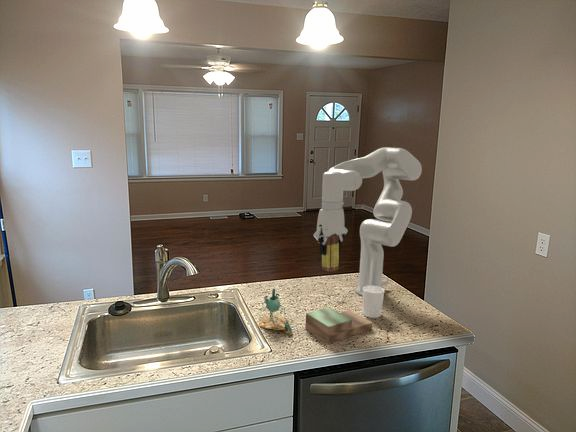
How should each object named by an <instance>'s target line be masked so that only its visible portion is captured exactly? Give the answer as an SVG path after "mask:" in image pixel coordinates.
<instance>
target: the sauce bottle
mask: <svg viewBox="0 0 576 432" xmlns="http://www.w3.org/2000/svg"><path fill="white" fill-rule="evenodd" d="M323 239H324V237H323ZM325 244H326V245H327V250H326V255H323V254H321V268H322V270H323V271H326V272H336V271H338V270H339V266H340V265H339V262H340V261H339V260H340V259H339V258H340V256H339V253H340V252H339V242H338V235H337V234H336V233H335V234H332V235H331V236H330V237H328V238H327V241H326V243H325Z"/></svg>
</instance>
